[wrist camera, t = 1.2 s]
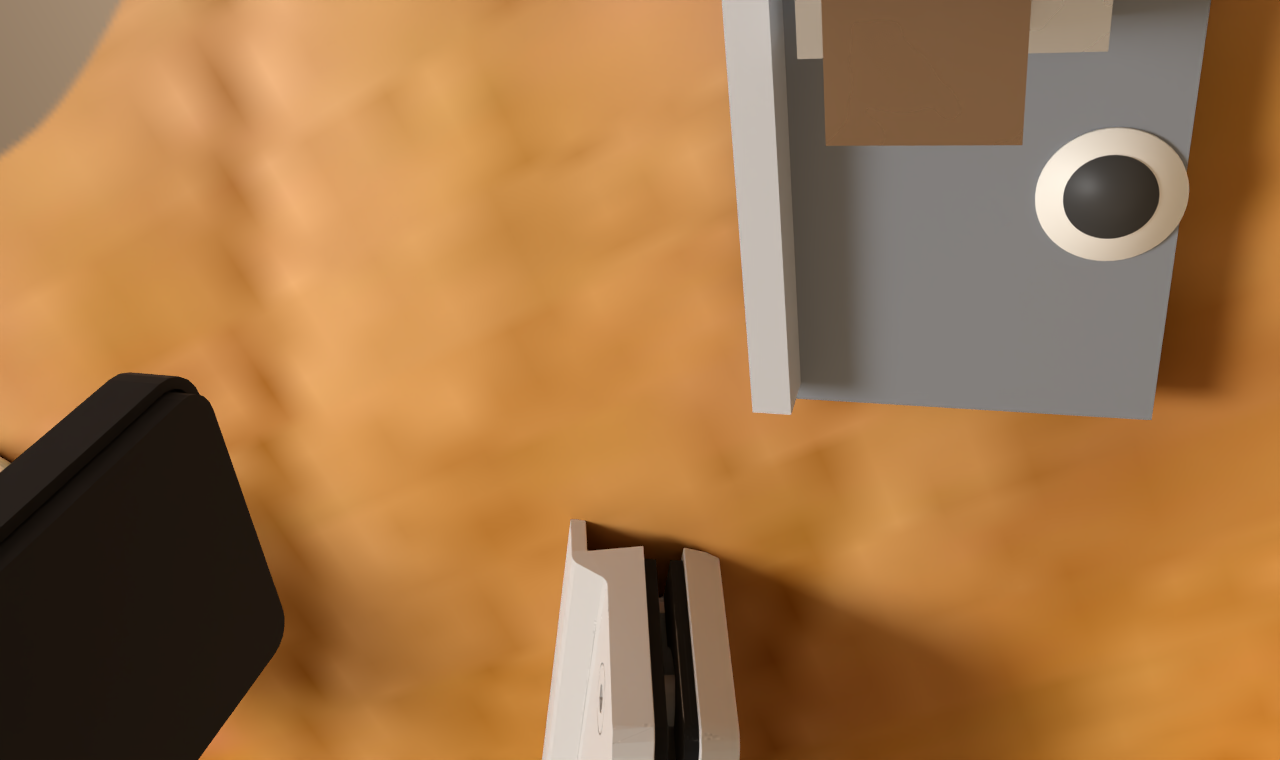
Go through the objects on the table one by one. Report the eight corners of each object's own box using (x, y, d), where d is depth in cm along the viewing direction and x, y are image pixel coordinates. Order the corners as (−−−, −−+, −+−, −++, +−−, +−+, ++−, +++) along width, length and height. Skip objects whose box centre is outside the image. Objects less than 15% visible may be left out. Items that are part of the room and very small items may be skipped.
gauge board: (713, -390, 24) (638, -386, 19) (1271, -469, 21) (1331, -483, 16) (764, 366, 33) (721, 485, 29) (1151, 387, 30) (1169, 522, 26)
